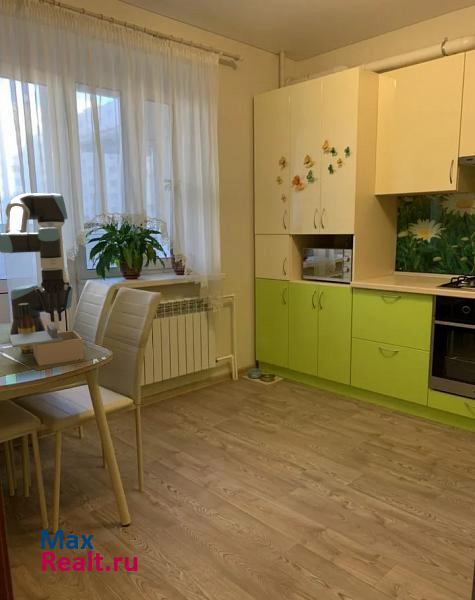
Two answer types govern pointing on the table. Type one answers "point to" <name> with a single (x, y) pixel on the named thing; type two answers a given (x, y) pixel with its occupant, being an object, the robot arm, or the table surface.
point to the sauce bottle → (25, 325)
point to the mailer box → (60, 349)
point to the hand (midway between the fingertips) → (56, 329)
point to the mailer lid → (36, 337)
